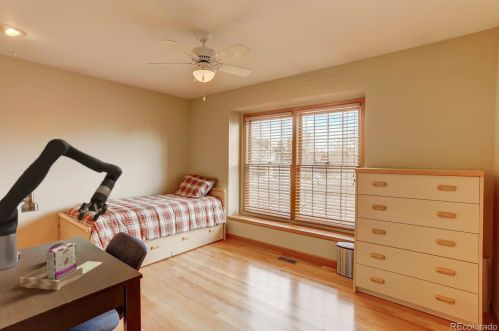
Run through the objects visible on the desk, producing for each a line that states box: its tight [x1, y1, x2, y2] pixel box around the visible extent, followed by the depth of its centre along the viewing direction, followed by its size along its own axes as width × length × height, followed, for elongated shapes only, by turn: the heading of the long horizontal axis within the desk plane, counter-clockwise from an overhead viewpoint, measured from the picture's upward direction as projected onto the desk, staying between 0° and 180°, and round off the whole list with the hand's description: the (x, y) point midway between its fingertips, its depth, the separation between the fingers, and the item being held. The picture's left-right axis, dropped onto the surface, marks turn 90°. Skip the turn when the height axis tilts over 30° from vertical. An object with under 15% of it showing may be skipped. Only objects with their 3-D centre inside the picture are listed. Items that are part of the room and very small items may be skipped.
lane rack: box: [19, 265, 84, 291], centre depth 121 cm, size 19×14×4 cm
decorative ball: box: [48, 242, 65, 250], centre depth 143 cm, size 10×10×10 cm
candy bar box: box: [46, 242, 77, 280], centre depth 121 cm, size 11×5×16 cm, turn 168°
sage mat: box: [76, 260, 104, 275], centre depth 135 cm, size 9×14×1 cm, turn 172°
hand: (86, 220), depth 135 cm, fingers open, 8 cm apart
